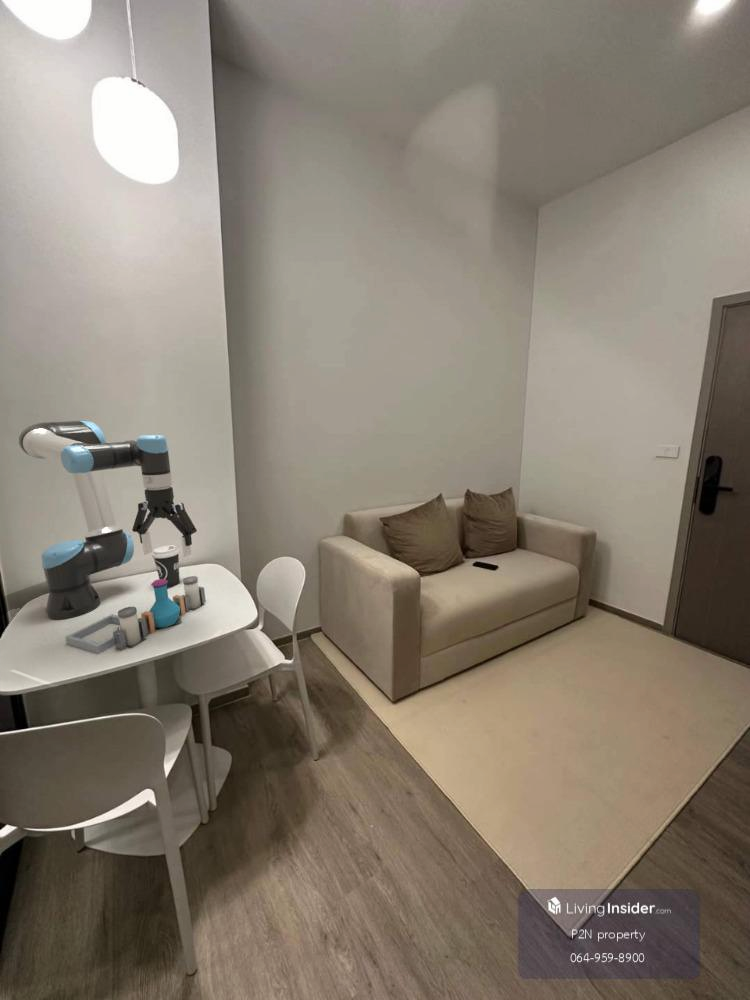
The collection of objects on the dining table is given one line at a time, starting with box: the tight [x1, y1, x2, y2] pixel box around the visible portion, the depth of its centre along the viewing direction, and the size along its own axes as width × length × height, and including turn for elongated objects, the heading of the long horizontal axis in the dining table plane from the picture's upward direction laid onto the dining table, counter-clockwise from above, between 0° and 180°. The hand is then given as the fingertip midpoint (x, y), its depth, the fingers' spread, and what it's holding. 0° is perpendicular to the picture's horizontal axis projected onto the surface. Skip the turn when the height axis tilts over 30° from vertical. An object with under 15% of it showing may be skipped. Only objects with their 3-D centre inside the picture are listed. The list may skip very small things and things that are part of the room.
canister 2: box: [182, 575, 201, 609], centre depth 136 cm, size 5×5×10 cm
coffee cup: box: [151, 544, 181, 589], centre depth 155 cm, size 10×10×15 cm
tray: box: [65, 613, 120, 655], centre depth 120 cm, size 14×14×3 cm
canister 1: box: [117, 606, 141, 646], centre depth 115 cm, size 5×5×10 cm
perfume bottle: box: [148, 578, 180, 628], centre depth 126 cm, size 9×9×15 cm
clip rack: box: [112, 586, 207, 651], centre depth 126 cm, size 6×31×7 cm, turn 158°
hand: (167, 554), depth 124 cm, fingers open, 13 cm apart
